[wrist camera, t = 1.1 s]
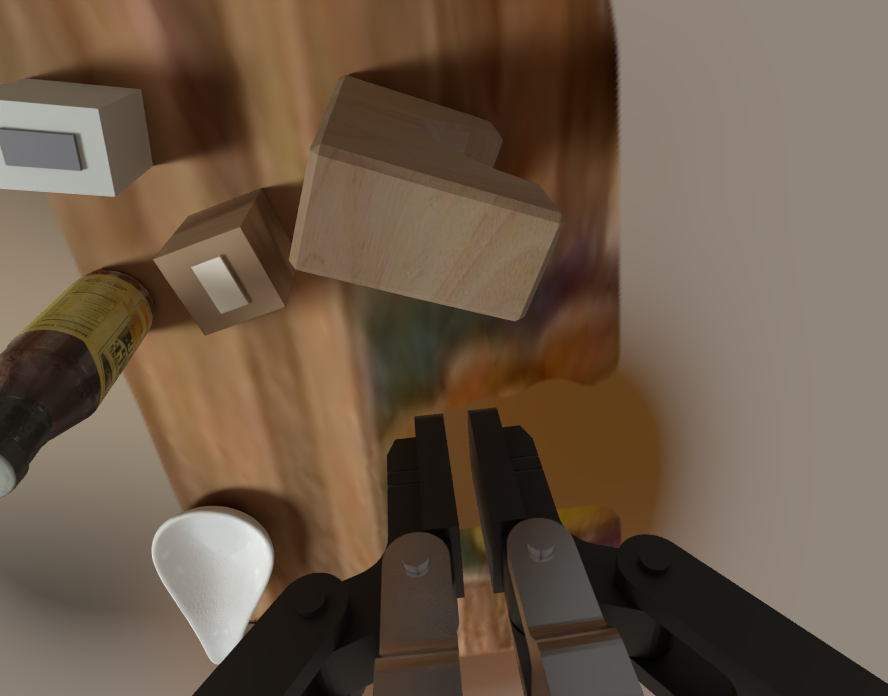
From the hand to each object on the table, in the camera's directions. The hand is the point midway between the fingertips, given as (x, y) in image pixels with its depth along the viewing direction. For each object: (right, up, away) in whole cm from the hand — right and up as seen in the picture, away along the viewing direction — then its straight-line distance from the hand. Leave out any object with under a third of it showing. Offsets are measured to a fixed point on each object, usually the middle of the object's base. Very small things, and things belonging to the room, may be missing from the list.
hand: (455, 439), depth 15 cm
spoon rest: (-24, -21, +50) cm, 59 cm away
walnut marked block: (-15, +11, +30) cm, 35 cm away
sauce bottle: (-26, +6, +31) cm, 41 cm away
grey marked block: (-24, +17, +24) cm, 38 cm away
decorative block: (-3, +18, +27) cm, 32 cm away
